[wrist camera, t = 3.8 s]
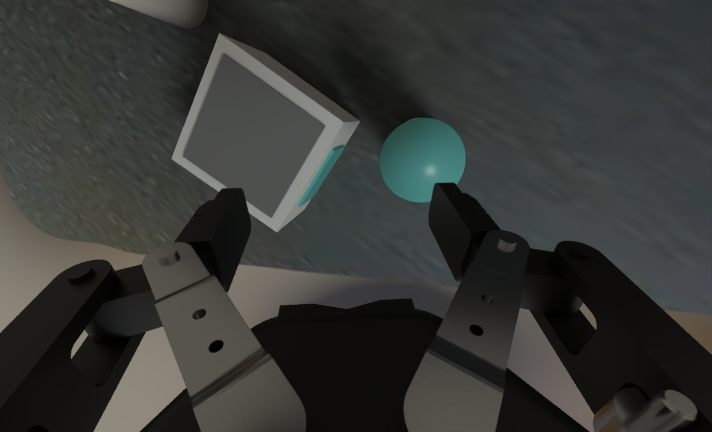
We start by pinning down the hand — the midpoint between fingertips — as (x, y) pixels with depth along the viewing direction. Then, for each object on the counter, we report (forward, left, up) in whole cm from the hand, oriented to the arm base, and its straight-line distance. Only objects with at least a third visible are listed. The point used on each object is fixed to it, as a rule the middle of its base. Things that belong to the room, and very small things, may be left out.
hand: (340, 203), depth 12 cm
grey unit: (-7, -7, -17) cm, 20 cm away
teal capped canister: (+1, +3, -17) cm, 18 cm away
